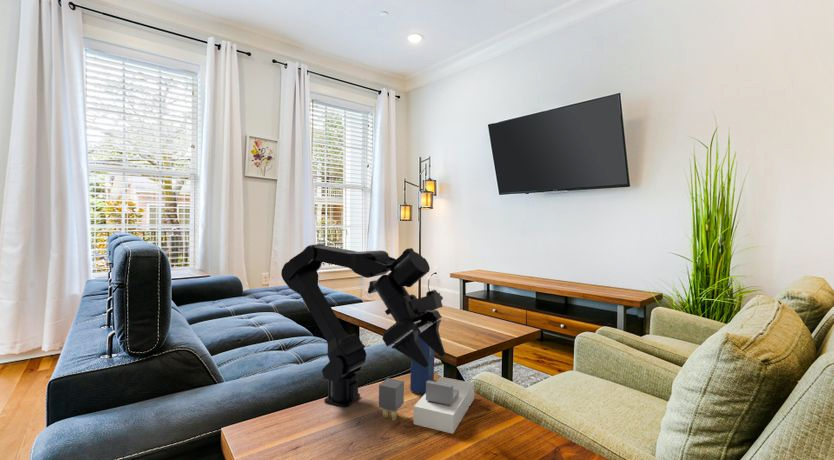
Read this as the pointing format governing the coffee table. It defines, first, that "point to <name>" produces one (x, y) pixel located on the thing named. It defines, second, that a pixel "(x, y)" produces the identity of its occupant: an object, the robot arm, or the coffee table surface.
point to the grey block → (440, 392)
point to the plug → (391, 396)
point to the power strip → (445, 408)
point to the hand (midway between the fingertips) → (435, 360)
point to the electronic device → (422, 370)
